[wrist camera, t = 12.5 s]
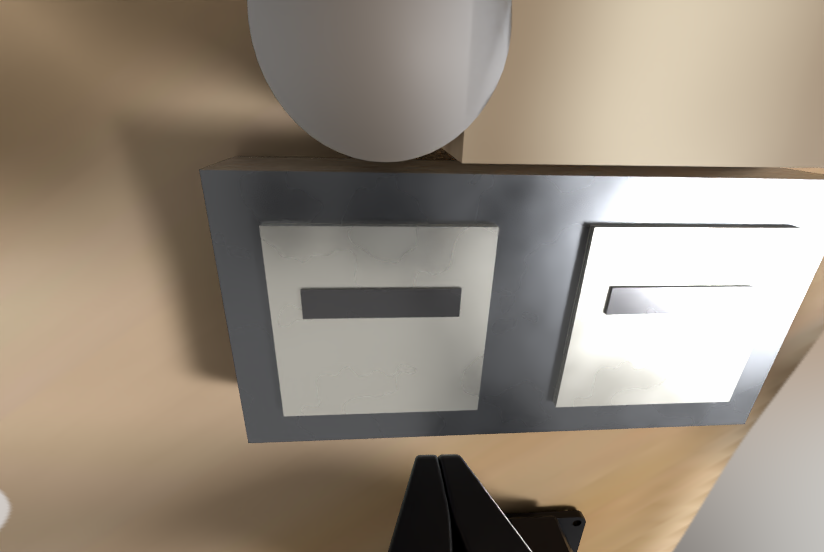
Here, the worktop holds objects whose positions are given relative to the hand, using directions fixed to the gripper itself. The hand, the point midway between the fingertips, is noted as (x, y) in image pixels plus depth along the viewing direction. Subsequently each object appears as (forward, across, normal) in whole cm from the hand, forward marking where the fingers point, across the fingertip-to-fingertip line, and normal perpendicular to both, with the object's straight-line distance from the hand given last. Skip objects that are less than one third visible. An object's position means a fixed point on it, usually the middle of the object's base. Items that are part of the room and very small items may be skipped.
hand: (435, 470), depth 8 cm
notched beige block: (+9, -5, -8) cm, 13 cm away
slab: (+9, -4, 0) cm, 10 cm away
